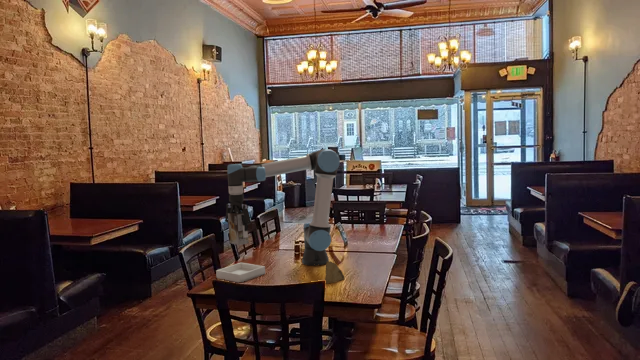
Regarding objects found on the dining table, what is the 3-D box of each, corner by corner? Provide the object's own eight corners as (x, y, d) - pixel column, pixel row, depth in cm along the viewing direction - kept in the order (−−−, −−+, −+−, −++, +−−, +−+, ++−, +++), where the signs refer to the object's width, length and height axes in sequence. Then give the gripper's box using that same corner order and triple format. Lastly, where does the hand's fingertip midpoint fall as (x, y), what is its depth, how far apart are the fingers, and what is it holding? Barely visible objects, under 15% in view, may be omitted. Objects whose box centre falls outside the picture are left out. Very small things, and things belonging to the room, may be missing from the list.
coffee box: (249, 243, 248) (247, 212, 246) (239, 245, 243) (237, 214, 242) (239, 240, 254) (237, 211, 253) (229, 243, 250) (227, 213, 248)
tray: (265, 273, 252) (264, 266, 252) (240, 282, 238) (240, 275, 237) (241, 269, 263) (241, 262, 262) (216, 277, 248) (216, 270, 248)
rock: (344, 272, 240) (324, 270, 240) (346, 261, 235) (326, 259, 235) (344, 290, 232) (323, 288, 232) (345, 279, 226) (325, 277, 226)
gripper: (216, 194, 250) (218, 235, 252) (246, 195, 237) (248, 239, 239) (226, 192, 256) (229, 233, 258) (256, 193, 243) (259, 236, 245)
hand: (238, 236), depth 248 cm, fingers closed on coffee box, 9 cm apart
